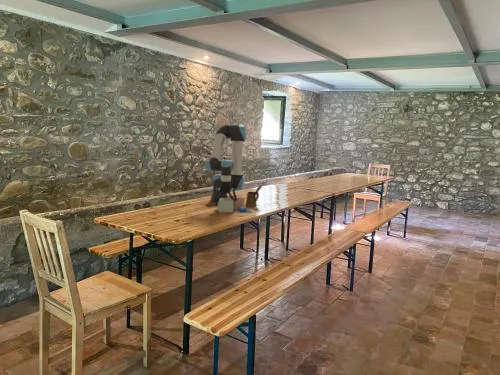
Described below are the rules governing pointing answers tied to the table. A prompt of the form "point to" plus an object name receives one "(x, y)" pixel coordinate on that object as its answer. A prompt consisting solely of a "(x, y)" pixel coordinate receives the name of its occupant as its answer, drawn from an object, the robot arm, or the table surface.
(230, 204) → the sage cover
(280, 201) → the table surface
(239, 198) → the terracotta cover
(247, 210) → the slate tile
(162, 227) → the table surface
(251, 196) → the wooden mug
